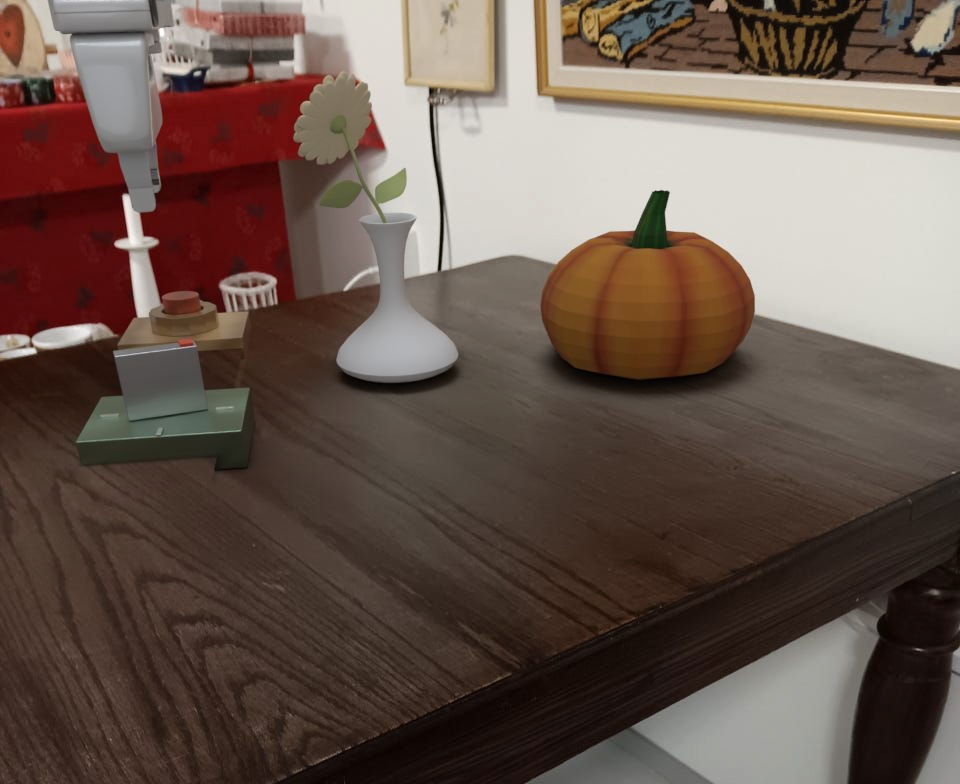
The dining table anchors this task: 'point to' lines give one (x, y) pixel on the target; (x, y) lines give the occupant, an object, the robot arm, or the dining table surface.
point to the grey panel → (161, 379)
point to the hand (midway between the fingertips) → (148, 201)
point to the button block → (190, 329)
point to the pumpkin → (647, 301)
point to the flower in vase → (394, 324)
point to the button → (181, 303)
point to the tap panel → (172, 432)
